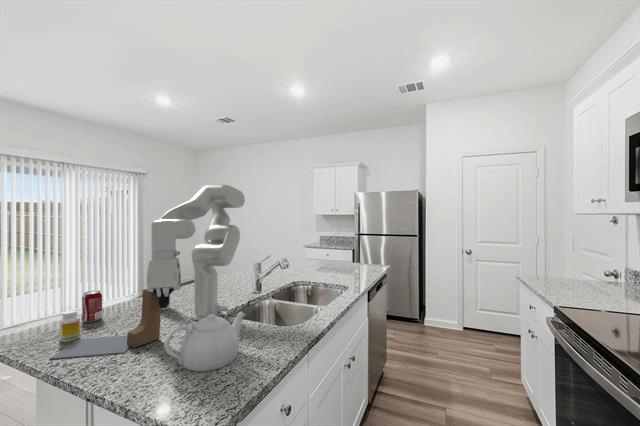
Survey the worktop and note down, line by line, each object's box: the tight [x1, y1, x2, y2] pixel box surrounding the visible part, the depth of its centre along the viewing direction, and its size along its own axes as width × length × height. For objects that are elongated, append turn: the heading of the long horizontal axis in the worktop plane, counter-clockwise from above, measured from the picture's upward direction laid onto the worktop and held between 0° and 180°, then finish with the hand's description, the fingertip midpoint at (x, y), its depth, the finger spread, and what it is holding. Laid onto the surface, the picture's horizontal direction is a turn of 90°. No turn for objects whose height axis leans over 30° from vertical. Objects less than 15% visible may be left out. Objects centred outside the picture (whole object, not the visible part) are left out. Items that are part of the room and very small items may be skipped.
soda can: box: [81, 289, 103, 323], centre depth 124 cm, size 7×7×12 cm
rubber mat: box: [49, 335, 132, 361], centre depth 99 cm, size 21×14×1 cm, turn 100°
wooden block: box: [126, 288, 162, 348], centre depth 102 cm, size 9×4×18 cm, turn 152°
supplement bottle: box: [59, 309, 81, 343], centre depth 105 cm, size 5×5×10 cm
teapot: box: [164, 311, 247, 372], centre depth 90 cm, size 19×18×14 cm
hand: (164, 307), depth 102 cm, fingers closed
